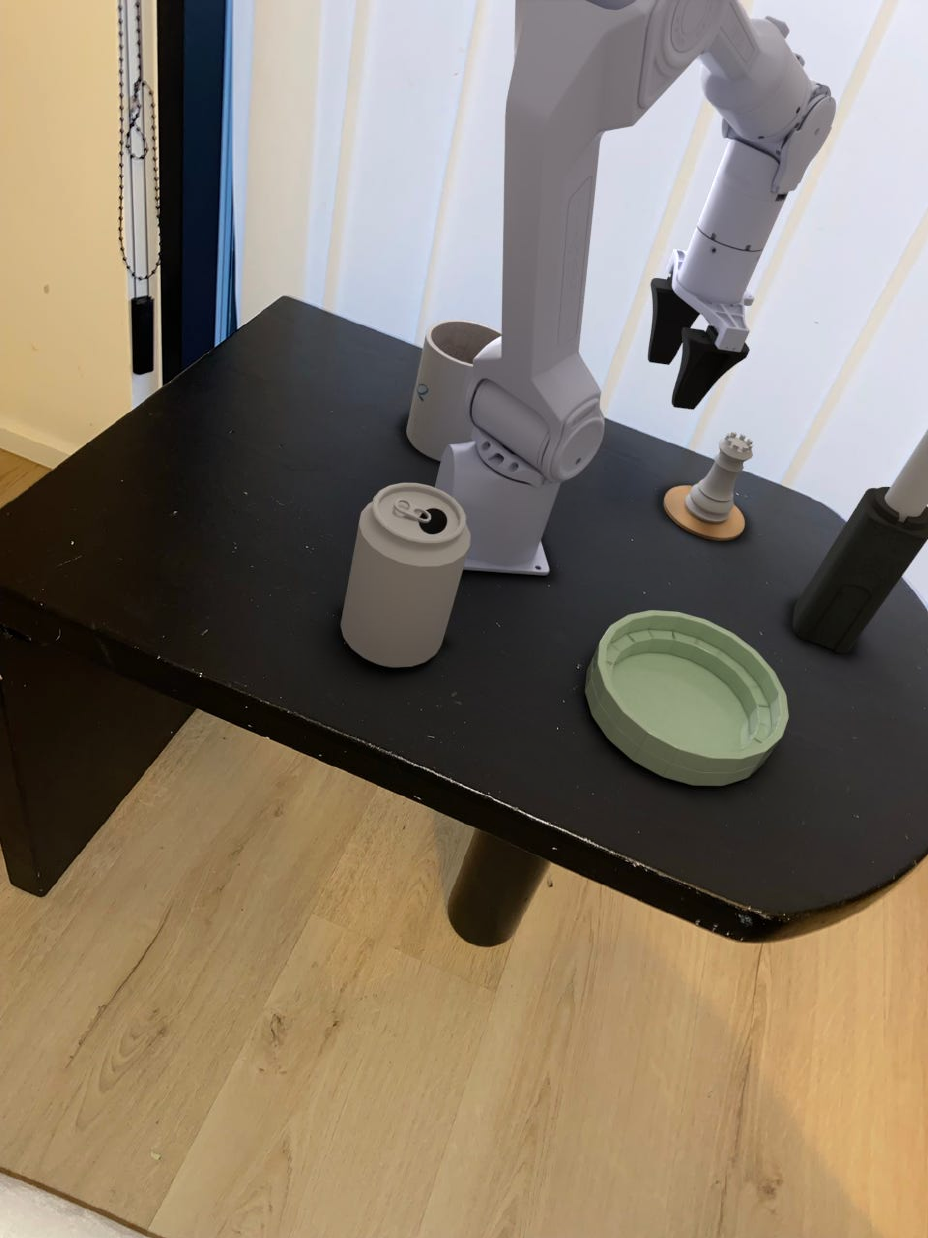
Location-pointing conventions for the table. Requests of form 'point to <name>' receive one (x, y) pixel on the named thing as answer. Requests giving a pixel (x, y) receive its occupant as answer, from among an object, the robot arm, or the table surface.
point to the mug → (445, 384)
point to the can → (404, 574)
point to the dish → (685, 698)
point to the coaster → (690, 523)
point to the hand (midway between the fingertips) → (670, 383)
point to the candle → (867, 558)
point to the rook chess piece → (720, 481)
